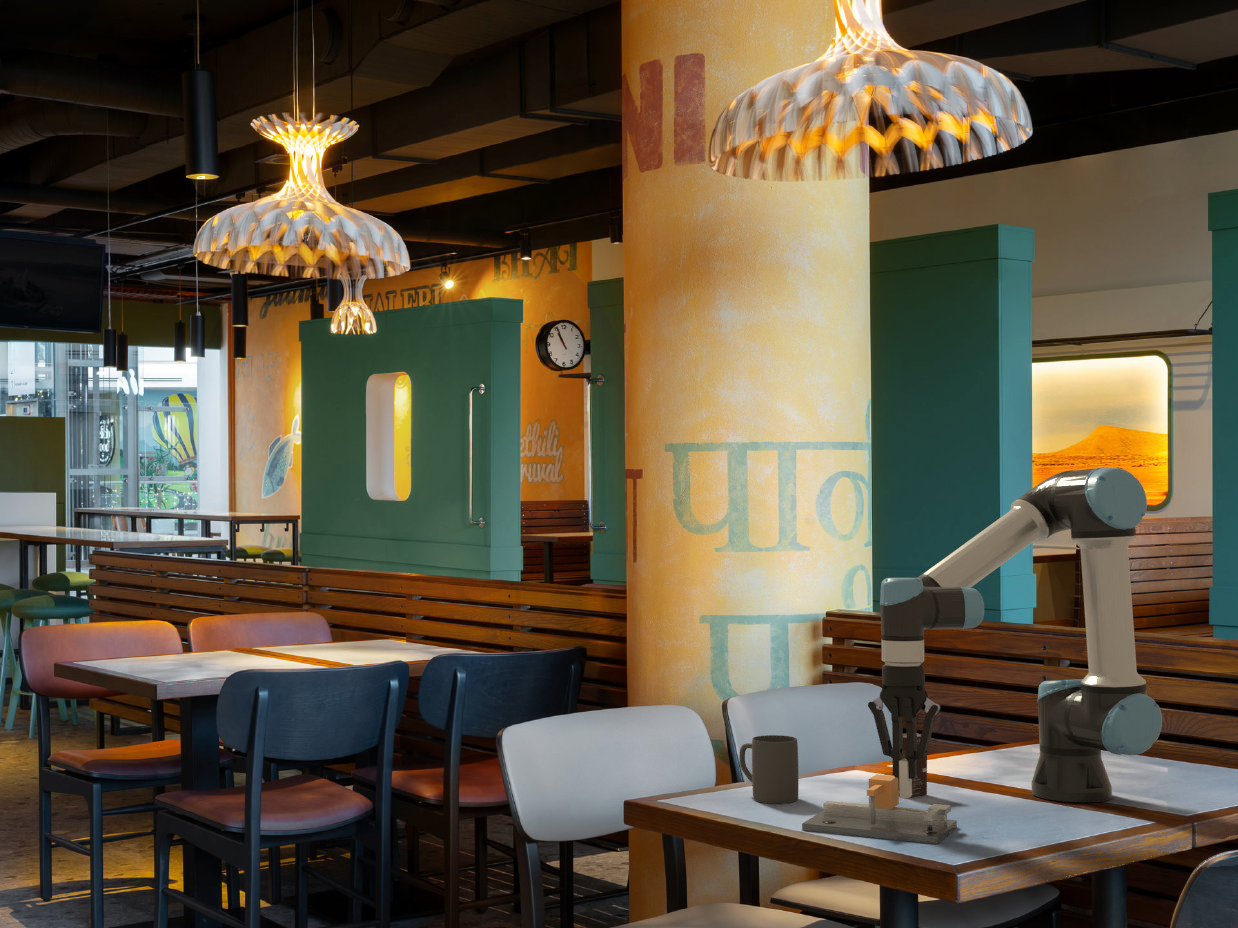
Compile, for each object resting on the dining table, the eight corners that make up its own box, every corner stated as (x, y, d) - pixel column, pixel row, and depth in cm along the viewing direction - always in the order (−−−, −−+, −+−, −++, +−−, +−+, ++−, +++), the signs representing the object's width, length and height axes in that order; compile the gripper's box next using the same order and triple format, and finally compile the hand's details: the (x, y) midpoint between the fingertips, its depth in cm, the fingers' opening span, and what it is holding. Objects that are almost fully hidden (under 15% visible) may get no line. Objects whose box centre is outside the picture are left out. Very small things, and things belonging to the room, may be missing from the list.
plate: (956, 827, 227) (956, 819, 227) (937, 843, 215) (937, 836, 215) (827, 814, 238) (827, 807, 239) (802, 830, 226) (802, 822, 226)
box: (908, 798, 253) (907, 737, 254) (891, 794, 257) (890, 734, 257) (929, 795, 256) (928, 734, 257) (912, 791, 260) (911, 731, 261)
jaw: (898, 813, 231) (898, 775, 231) (882, 825, 221) (881, 786, 222) (877, 811, 233) (876, 774, 233) (859, 823, 223) (859, 784, 224)
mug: (808, 799, 253) (807, 738, 254) (779, 806, 247) (778, 743, 247) (754, 790, 263) (753, 731, 264) (725, 796, 256) (725, 736, 257)
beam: (951, 822, 226) (950, 805, 226) (937, 834, 217) (936, 816, 217) (829, 810, 236) (828, 794, 236) (810, 821, 227) (810, 804, 227)
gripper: (944, 663, 230) (947, 795, 228) (873, 660, 236) (876, 789, 234) (934, 666, 223) (937, 803, 221) (861, 664, 229) (864, 797, 227)
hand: (905, 796), depth 228 cm, fingers closed
